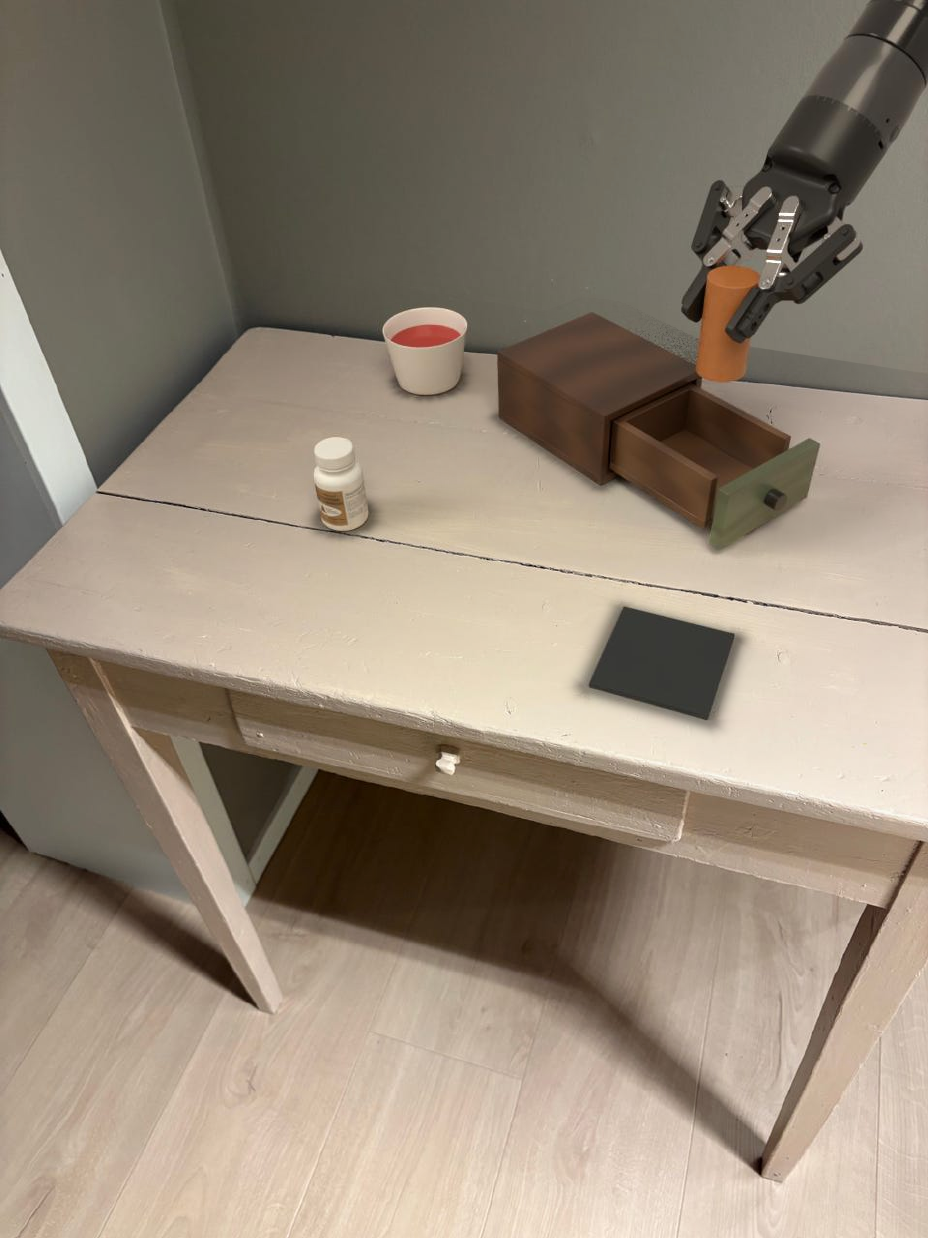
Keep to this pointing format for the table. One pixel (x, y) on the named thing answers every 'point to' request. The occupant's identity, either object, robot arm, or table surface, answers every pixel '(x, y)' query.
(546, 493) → the table surface
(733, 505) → the drawer
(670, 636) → the mat
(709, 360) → the spice tin
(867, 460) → the table surface
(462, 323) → the candle
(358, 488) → the pill bottle
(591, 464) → the cabinet
